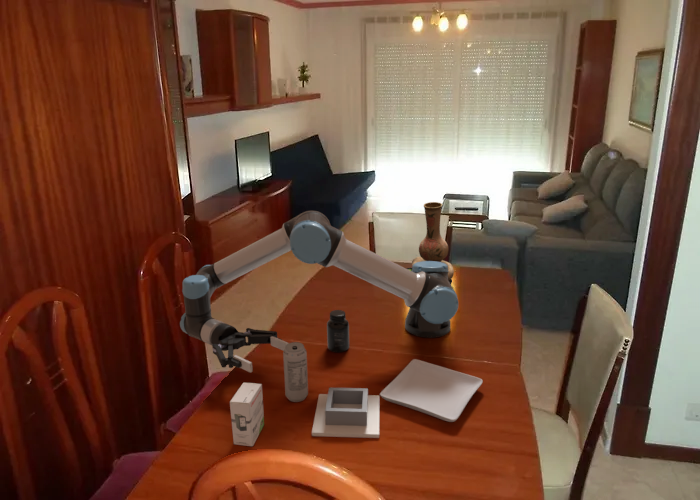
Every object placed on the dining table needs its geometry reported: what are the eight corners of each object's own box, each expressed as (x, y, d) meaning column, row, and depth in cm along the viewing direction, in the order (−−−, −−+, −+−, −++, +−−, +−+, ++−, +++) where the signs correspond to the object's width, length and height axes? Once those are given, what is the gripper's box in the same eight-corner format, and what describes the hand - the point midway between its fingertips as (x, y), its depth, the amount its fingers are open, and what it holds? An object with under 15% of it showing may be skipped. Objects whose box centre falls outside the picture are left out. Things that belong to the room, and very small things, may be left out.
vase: (390, 289, 212) (392, 203, 201) (417, 273, 229) (419, 192, 218) (445, 303, 199) (449, 212, 188) (468, 284, 216) (474, 200, 205)
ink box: (246, 422, 132) (242, 380, 129) (265, 424, 131) (262, 382, 128) (232, 444, 124) (228, 401, 121) (253, 447, 123) (249, 403, 120)
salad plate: (455, 431, 129) (455, 419, 127) (377, 404, 139) (377, 393, 138) (483, 389, 146) (484, 378, 144) (413, 368, 156) (413, 357, 155)
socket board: (379, 398, 141) (379, 382, 140) (379, 437, 126) (379, 420, 124) (319, 397, 142) (318, 380, 140) (311, 436, 127) (311, 418, 125)
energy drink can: (307, 389, 146) (305, 340, 141) (309, 401, 140) (307, 351, 135) (284, 391, 145) (282, 342, 140) (286, 404, 139) (283, 353, 134)
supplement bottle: (352, 345, 169) (352, 310, 165) (343, 355, 163) (343, 319, 159) (333, 340, 172) (332, 306, 168) (323, 350, 166) (322, 315, 162)
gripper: (252, 331, 168) (301, 351, 156) (185, 363, 150) (235, 389, 137) (251, 309, 166) (301, 328, 154) (182, 339, 148) (233, 363, 135)
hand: (270, 357), depth 145 cm, fingers open, 13 cm apart
